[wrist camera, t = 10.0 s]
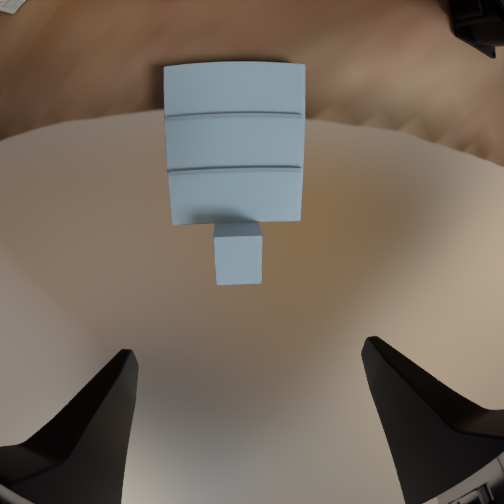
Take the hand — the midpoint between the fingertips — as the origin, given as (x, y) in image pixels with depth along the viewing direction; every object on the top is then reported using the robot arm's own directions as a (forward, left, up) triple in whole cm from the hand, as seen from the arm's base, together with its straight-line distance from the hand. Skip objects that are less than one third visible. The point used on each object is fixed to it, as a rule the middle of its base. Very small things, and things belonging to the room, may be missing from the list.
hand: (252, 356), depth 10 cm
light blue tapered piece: (0, -5, -13) cm, 14 cm away
